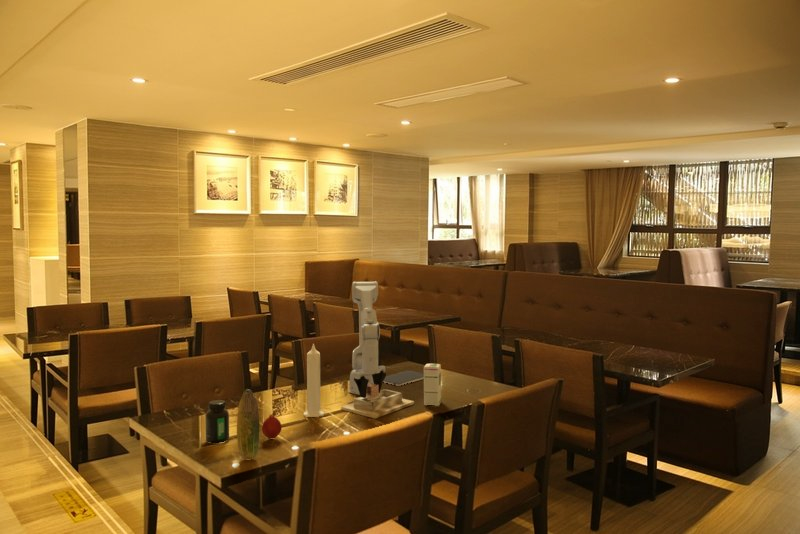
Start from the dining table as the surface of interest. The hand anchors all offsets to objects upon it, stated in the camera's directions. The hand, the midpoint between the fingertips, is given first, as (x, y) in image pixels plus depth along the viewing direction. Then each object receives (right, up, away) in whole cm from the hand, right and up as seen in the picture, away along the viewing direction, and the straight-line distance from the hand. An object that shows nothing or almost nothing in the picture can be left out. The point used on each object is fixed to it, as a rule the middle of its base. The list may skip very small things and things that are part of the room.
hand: (370, 394), depth 214 cm
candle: (-19, -6, -6) cm, 21 cm away
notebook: (+12, -3, +44) cm, 46 cm away
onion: (-29, -7, -30) cm, 42 cm away
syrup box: (+23, -5, +8) cm, 24 cm away
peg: (0, -4, 0) cm, 4 cm away
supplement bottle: (-45, -7, -32) cm, 55 cm away
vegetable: (-32, -8, -46) cm, 56 cm away
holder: (+3, -5, +4) cm, 7 cm away
